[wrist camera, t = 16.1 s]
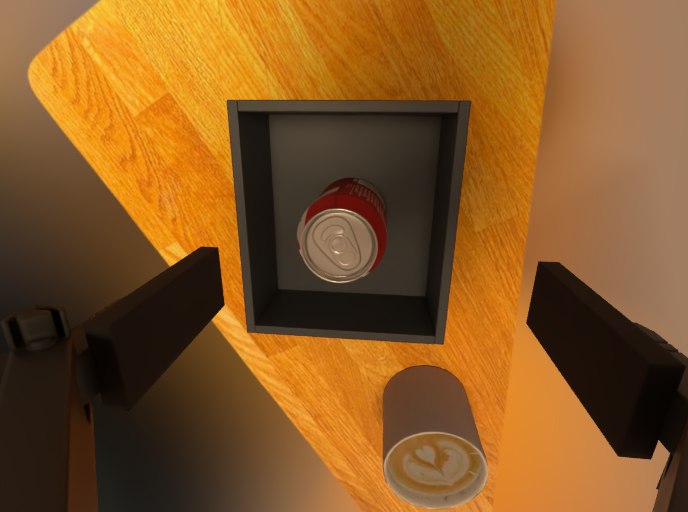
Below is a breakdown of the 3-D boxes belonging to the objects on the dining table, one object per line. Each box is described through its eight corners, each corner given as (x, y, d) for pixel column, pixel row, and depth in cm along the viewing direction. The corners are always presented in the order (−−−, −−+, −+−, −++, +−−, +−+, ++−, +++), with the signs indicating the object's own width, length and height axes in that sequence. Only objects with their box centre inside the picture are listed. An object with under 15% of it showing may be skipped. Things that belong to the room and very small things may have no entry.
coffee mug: (387, 360, 44) (388, 425, 34) (473, 370, 43) (498, 439, 34) (376, 447, 48) (375, 525, 39) (454, 457, 48) (471, 539, 38)
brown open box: (449, 106, 34) (471, 100, 26) (431, 299, 41) (443, 344, 32) (263, 105, 36) (226, 99, 27) (274, 291, 42) (246, 332, 34)
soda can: (364, 163, 36) (355, 180, 24) (398, 222, 37) (404, 264, 26) (305, 198, 37) (272, 229, 26) (340, 253, 39) (323, 306, 28)
